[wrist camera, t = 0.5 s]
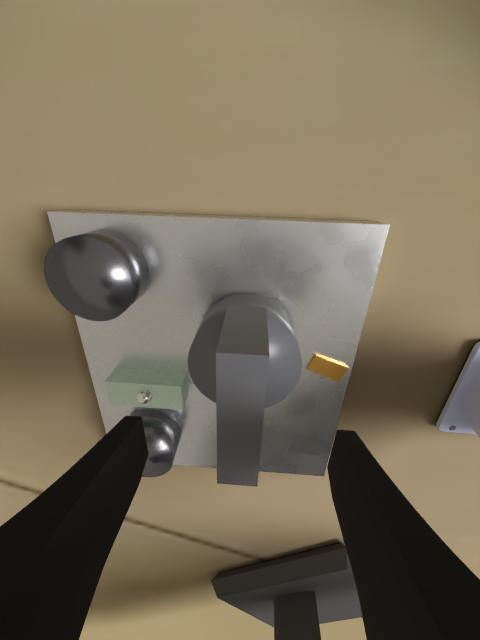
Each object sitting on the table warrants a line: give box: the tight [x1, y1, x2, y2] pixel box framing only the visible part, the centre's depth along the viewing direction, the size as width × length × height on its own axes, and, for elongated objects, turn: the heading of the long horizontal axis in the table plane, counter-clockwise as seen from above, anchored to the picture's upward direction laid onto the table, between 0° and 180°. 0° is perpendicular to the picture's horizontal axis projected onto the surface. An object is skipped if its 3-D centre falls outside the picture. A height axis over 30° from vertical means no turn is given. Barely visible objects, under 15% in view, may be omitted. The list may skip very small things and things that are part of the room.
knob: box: [188, 294, 302, 486], centre depth 15 cm, size 6×12×7 cm, turn 178°
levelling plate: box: [44, 210, 390, 477], centre depth 18 cm, size 18×20×4 cm
